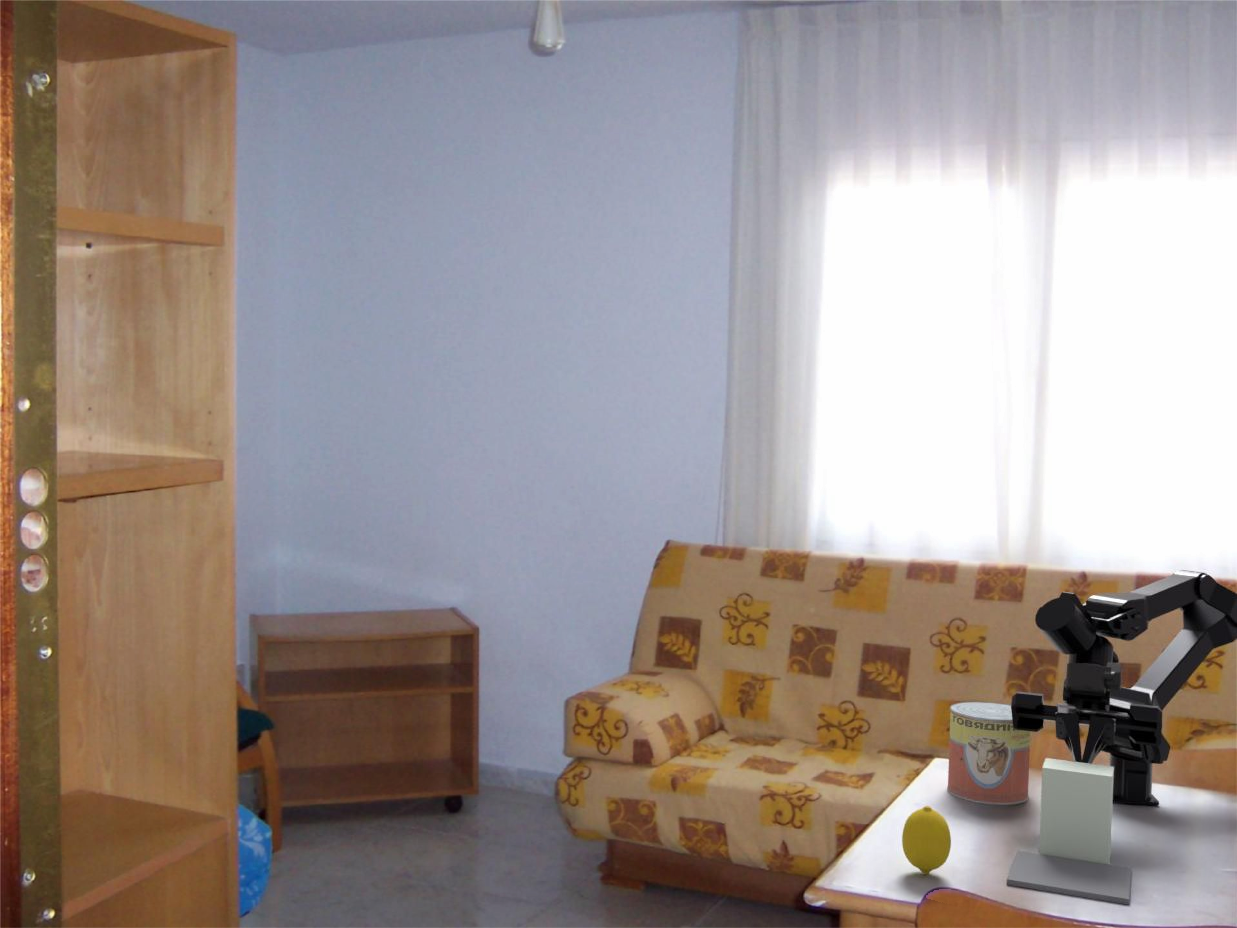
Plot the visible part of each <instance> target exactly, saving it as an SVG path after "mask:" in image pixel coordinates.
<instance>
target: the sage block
mask: <svg viewBox="0 0 1237 928" xmlns="http://www.w3.org/2000/svg"><path fill="white" fill-rule="evenodd" d="M1113 777H1114V767H1113V766H1110V765H1105V764H1104V765H1103V764H1095V763H1092V764H1089V763H1081V762H1074V761H1072V760H1064V759H1054V758H1049V757H1045V759H1044V762H1043V764H1042V767H1041V791H1040V792H1041V794H1040V818H1039V843H1038V844H1039V846H1038V854H1045V855H1051V856H1058V857H1064V858H1071V859H1077V860H1084V861H1090V862H1097V863H1103V864H1110V860H1111V850H1112V846H1111V845H1112V825H1113V822H1112V821H1113V803H1114V802H1113Z"/></svg>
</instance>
